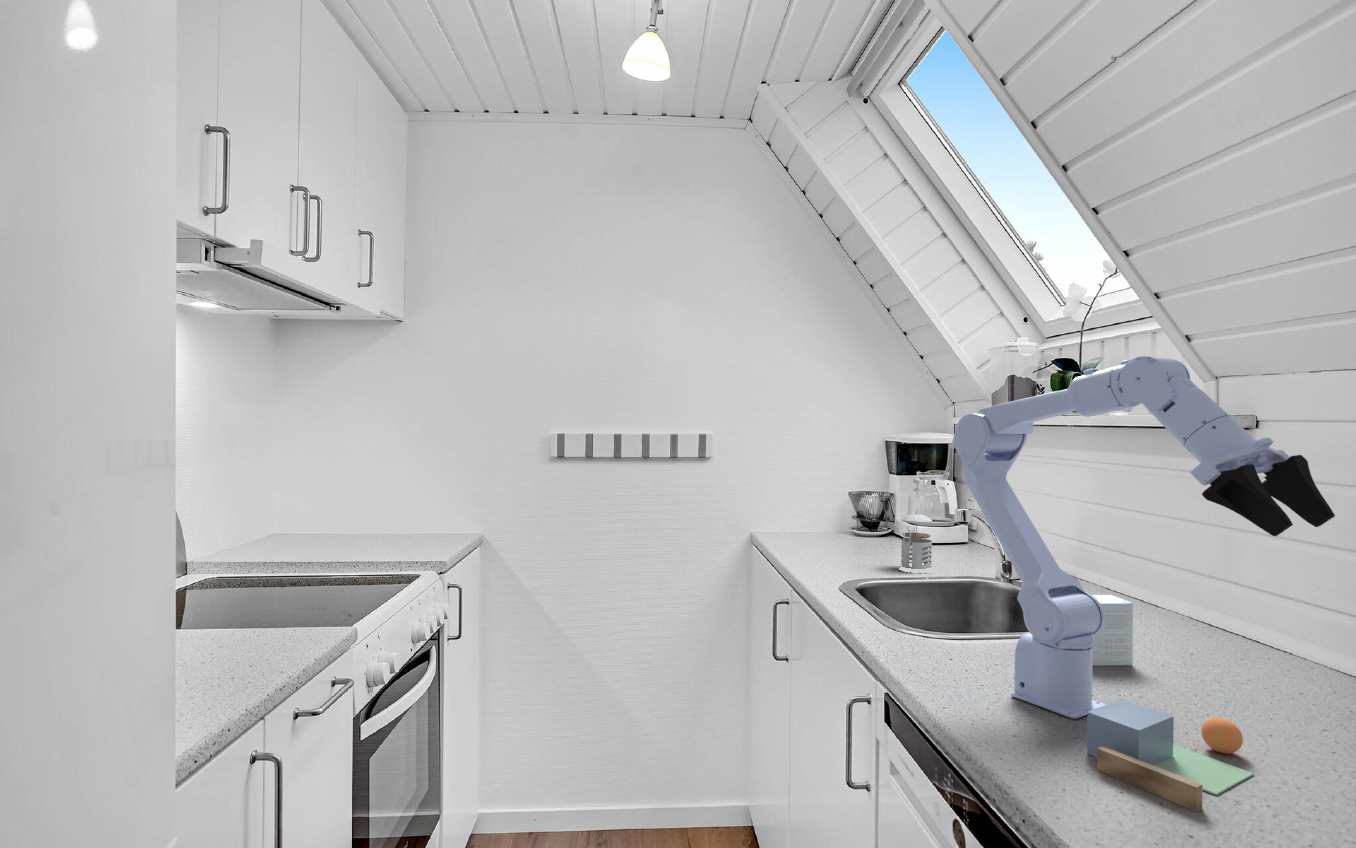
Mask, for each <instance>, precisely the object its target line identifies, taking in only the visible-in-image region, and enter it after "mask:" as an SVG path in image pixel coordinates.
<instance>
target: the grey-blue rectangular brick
mask: <svg viewBox="0 0 1356 848" xmlns="http://www.w3.org/2000/svg"><path fill="white" fill-rule="evenodd" d="M1105 705H1106V704H1105ZM1174 717H1175V716H1173V715H1170V714H1169V713H1168V714H1167V713H1164V712H1162V711H1159V710H1155V709H1152V708H1149V707H1146V706H1143V705H1141V704H1137V703H1134V702H1131V701H1128V700H1125V699H1120V700H1117V701H1115V702H1112V703H1108V704H1107V705H1106V706H1103V707H1100V708H1097V709H1094V710H1092V711H1089V712H1087V717H1086V719H1087V722H1086V723H1087V724H1086V725H1087V726H1086V727H1087V729H1086V754H1088V755H1090V756H1092V757H1096V758H1097V748H1099V747H1102V746H1105V747H1107V748H1110V749H1113V750H1115V751H1118V752H1120V753H1123V754H1125V755H1128V756H1131V757H1133V758H1136V759H1138V760H1141V761H1143V762H1146V763H1148V764H1151V765H1156V764H1158V763H1160V762H1162V761H1165V760H1167V759H1169V758H1171V757H1173V744H1174V721H1175V719H1174Z"/></svg>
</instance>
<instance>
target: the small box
mask: <svg viewBox="0 0 1356 848" xmlns="http://www.w3.org/2000/svg"><path fill="white" fill-rule="evenodd" d="M1091 595H1092V596H1094V597H1095V598H1096V599H1097V600H1098V602H1099V603H1100V605H1101V606H1102V609H1103V612H1104V625H1103V627H1102V629H1101V630H1100V631H1099V632H1098V633H1096V634H1094V642H1093V666H1094V667H1095V666H1099V667H1100V666H1102V667H1103V666H1108V667H1109V666H1111V667H1112V666H1133V664H1134V661H1133V658H1134V656H1133V655H1134V654H1133V653H1134V651H1133V650H1134V649H1133V648H1134V646H1133V645H1134V644H1133V643H1134V642H1133V640H1134V635H1133V634H1134V630H1133V629H1134V604H1133V602H1131V601H1128V600H1126V599H1123V598H1120V597H1118V596H1115V595H1114V594H1113V595H1112V594H1091Z"/></svg>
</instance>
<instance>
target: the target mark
mask: <svg viewBox="0 0 1356 848" xmlns="http://www.w3.org/2000/svg"><path fill="white" fill-rule="evenodd" d="M1154 766H1156V767H1159V768H1161V769H1164V770H1166V771H1169V772H1171V773H1174V774H1177V775H1179V776H1182V777H1184V778H1187V779H1189V780H1192V781H1194V782H1197V783H1200V784H1202V785H1203V791H1204V792H1206V793H1209V794H1211V795H1214V796H1219V795H1220V794H1222V793H1223V792H1226V791H1228V790H1229V789H1231V788H1233V787H1234V786H1236V785H1238V784H1240V783H1242V782H1244V781H1245V780H1247V779H1249V778H1251V777H1253V776H1254V775H1255V773H1253V772H1251V771H1249V770H1246V769H1243V768H1240V767H1237V766H1234V765H1231V764H1228V763H1226V762H1223V761H1220V760H1219V759H1215V758H1212V757H1209V756H1206V755H1204V754H1201V753H1199V752H1195V751H1193V750H1191V749H1187V748H1185V747H1181V746H1179V745H1176V744H1174V743H1173V757H1171V758H1169V759H1167V760H1165V761H1162V762H1160V763H1158V764H1156V765H1154ZM1203 791H1202V792H1203Z"/></svg>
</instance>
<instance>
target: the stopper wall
mask: <svg viewBox="0 0 1356 848" xmlns="http://www.w3.org/2000/svg"><path fill="white" fill-rule="evenodd" d="M1096 759H1097V761H1096V764H1097V766H1096V770H1097V771H1099V772H1102V773H1104V774H1106V775H1109V776H1111V777H1113V778H1115V779H1118V780H1119V781H1122V782H1125V783H1127V784H1130V785H1132V786H1134V787H1137V788H1139V789H1142V790H1143V791H1146V792H1149V793H1151V794H1154V795H1155V796H1159V797H1160V798H1163V799H1164V800H1167V801H1170V802H1172V803H1175V804H1177V805H1179V806H1182V807H1184V808H1187V809H1189V810H1191V811H1193V812H1196V813H1198V812H1199V811H1202V810H1203V785H1202V784H1200V783H1197V782H1194V781H1192V780H1189V779H1187V778H1184V777H1182V776H1179V775H1177V774H1174V773H1171V772H1169V771H1166V770H1164V769H1161V768H1159V767H1156V766H1154V765H1151V764H1148V763H1146V762H1143V761H1141V760H1138V759H1136V758H1133V757H1131V756H1128V755H1125V754H1123V753H1120V752H1118V751H1115V750H1113V749H1110V748H1107V747H1105V746H1102V747H1099V748H1097V757H1096Z"/></svg>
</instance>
